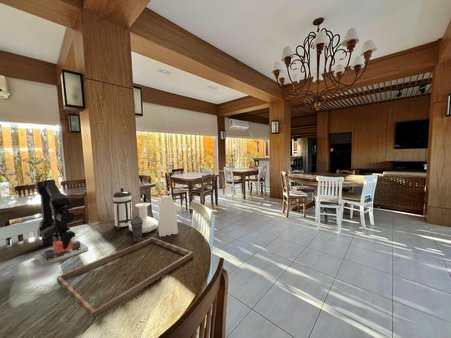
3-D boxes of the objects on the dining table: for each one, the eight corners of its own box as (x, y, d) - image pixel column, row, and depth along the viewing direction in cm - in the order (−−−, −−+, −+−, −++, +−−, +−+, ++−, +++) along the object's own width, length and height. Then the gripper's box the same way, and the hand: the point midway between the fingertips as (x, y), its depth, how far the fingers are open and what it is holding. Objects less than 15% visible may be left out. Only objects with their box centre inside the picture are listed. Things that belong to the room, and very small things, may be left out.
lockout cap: (53, 250, 106) (52, 241, 106) (68, 245, 112) (67, 237, 111) (57, 253, 103) (57, 245, 102) (72, 248, 108) (72, 240, 108)
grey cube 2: (59, 252, 107) (58, 246, 106) (65, 249, 109) (65, 244, 109) (61, 253, 105) (60, 248, 105) (67, 251, 107) (67, 246, 107)
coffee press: (106, 229, 144) (104, 189, 141) (121, 222, 159) (120, 186, 157) (128, 231, 141) (126, 190, 138) (141, 223, 156) (139, 186, 154)
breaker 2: (72, 247, 112) (71, 242, 112) (78, 245, 114) (77, 240, 114) (74, 248, 110) (73, 243, 110) (80, 246, 113) (80, 241, 112)
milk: (175, 228, 146) (174, 194, 144) (177, 233, 136) (176, 197, 134) (158, 230, 141) (157, 195, 139) (159, 236, 131) (158, 198, 129)
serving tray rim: (57, 282, 84) (56, 276, 84) (152, 241, 124) (152, 237, 124) (93, 320, 65) (92, 313, 65) (193, 256, 105) (192, 252, 104)
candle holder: (149, 236, 131) (148, 208, 130) (122, 234, 134) (121, 207, 133) (163, 225, 151) (162, 201, 150) (139, 224, 154) (138, 200, 153)
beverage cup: (138, 242, 122) (137, 211, 121) (128, 241, 124) (127, 210, 122) (145, 237, 129) (144, 208, 128) (136, 236, 131) (134, 207, 130)
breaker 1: (44, 256, 102) (44, 251, 102) (51, 254, 104) (51, 248, 104) (46, 258, 100) (45, 252, 100) (53, 255, 103) (53, 250, 102)
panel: (34, 259, 104) (34, 254, 103) (79, 244, 120) (78, 240, 120) (42, 266, 96) (41, 262, 96) (88, 250, 113) (87, 246, 113)
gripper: (36, 220, 104) (38, 248, 106) (46, 228, 94) (49, 259, 95) (61, 215, 114) (63, 241, 115) (74, 221, 103) (76, 249, 104)
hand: (63, 247), depth 107 cm, fingers closed on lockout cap, 7 cm apart
